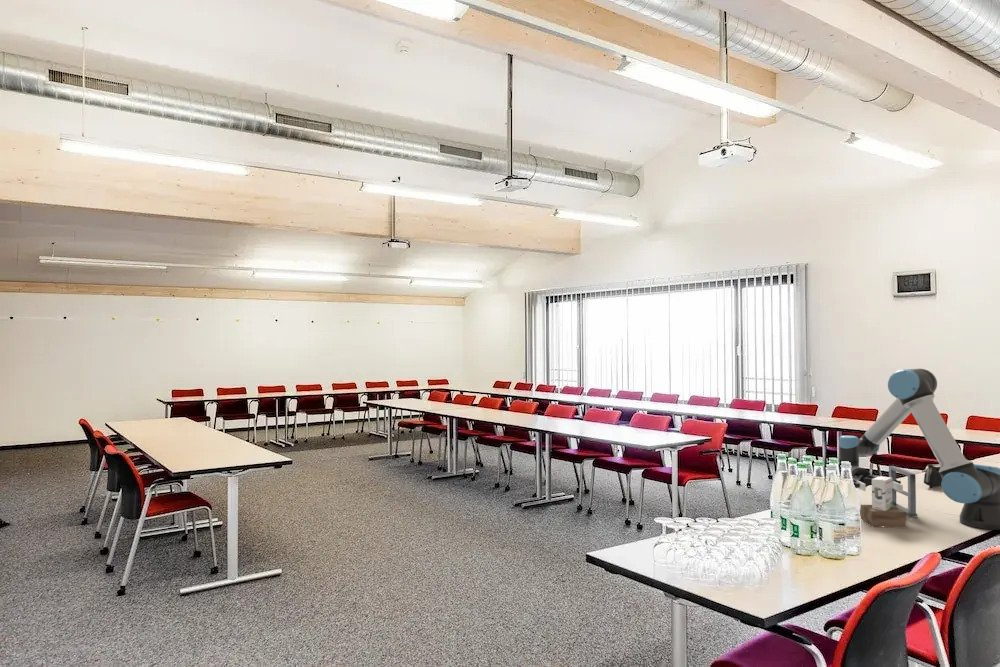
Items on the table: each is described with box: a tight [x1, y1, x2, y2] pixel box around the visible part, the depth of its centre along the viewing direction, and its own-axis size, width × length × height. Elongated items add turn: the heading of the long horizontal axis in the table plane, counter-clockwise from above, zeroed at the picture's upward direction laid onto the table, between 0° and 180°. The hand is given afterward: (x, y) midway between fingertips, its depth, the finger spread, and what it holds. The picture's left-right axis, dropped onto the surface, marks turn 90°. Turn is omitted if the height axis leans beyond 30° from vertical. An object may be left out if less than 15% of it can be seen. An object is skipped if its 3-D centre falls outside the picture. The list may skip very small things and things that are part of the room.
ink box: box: [871, 475, 892, 511], centre depth 248 cm, size 9×5×12 cm, turn 132°
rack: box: [888, 465, 918, 517], centre depth 267 cm, size 18×3×17 cm, turn 173°
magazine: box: [923, 464, 942, 489], centre depth 316 cm, size 17×3×30 cm
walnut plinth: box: [860, 504, 907, 528], centre depth 248 cm, size 10×12×6 cm
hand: (883, 488), depth 247 cm, fingers open, 13 cm apart
